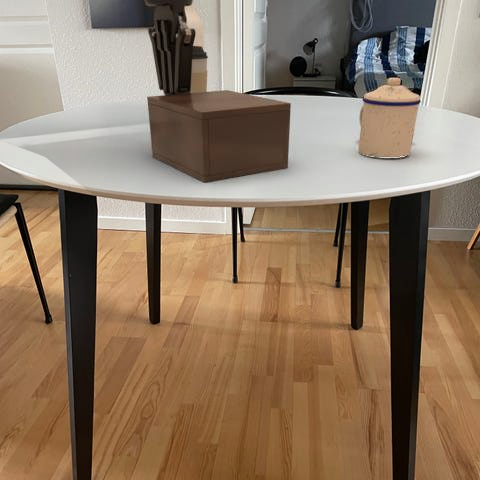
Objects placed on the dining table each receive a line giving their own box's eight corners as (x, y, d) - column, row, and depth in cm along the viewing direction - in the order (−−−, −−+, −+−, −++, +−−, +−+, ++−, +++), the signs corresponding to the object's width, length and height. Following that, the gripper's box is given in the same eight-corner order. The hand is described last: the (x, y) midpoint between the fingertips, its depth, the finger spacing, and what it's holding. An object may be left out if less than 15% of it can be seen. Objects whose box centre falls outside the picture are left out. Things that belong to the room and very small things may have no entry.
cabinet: (152, 157, 83) (146, 96, 78) (227, 146, 90) (227, 90, 85) (204, 182, 70) (201, 112, 65) (287, 167, 77) (291, 103, 72)
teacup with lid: (422, 156, 83) (437, 79, 77) (378, 162, 80) (389, 82, 74) (378, 142, 92) (388, 72, 86) (336, 147, 89) (343, 75, 83)
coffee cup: (196, 115, 118) (193, 42, 110) (217, 120, 112) (216, 44, 104) (162, 119, 113) (156, 44, 105) (182, 125, 107) (178, 46, 99)
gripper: (209, -26, 74) (213, 139, 86) (171, -21, 83) (179, 127, 96) (162, -28, 70) (174, 145, 83) (128, -23, 80) (143, 131, 92)
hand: (177, 135), depth 89 cm, fingers closed
